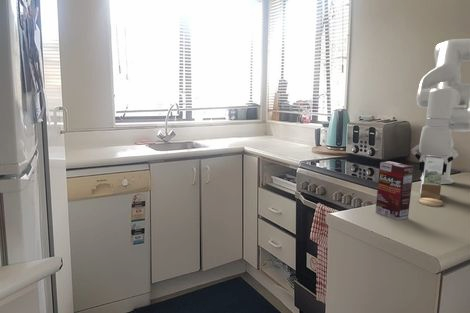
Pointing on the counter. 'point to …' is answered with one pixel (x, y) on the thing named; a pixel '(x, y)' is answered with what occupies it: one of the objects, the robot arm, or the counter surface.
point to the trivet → (430, 202)
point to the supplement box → (394, 190)
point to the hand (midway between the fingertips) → (432, 172)
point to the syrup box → (432, 170)
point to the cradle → (430, 191)
